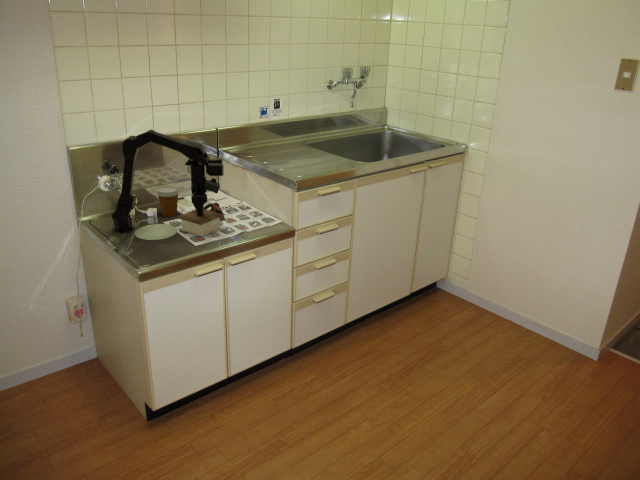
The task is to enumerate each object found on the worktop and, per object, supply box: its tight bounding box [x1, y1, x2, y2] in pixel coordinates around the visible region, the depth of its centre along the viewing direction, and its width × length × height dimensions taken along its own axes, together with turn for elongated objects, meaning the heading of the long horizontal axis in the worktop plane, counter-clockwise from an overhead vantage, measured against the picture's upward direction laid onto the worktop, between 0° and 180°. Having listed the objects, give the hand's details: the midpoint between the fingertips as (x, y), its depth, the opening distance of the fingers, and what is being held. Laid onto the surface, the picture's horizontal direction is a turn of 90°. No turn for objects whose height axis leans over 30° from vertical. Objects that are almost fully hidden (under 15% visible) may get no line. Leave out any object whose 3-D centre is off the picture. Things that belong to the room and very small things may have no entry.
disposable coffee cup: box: [156, 185, 180, 217], centre depth 243 cm, size 10×10×12 cm
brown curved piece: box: [203, 202, 226, 222], centre depth 243 cm, size 12×10×8 cm
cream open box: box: [180, 217, 221, 237], centre depth 229 cm, size 11×11×6 cm
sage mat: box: [134, 223, 178, 241], centre depth 226 cm, size 17×17×1 cm
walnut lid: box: [177, 206, 224, 225], centre depth 227 cm, size 13×13×5 cm
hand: (200, 211), depth 227 cm, fingers open, 9 cm apart
